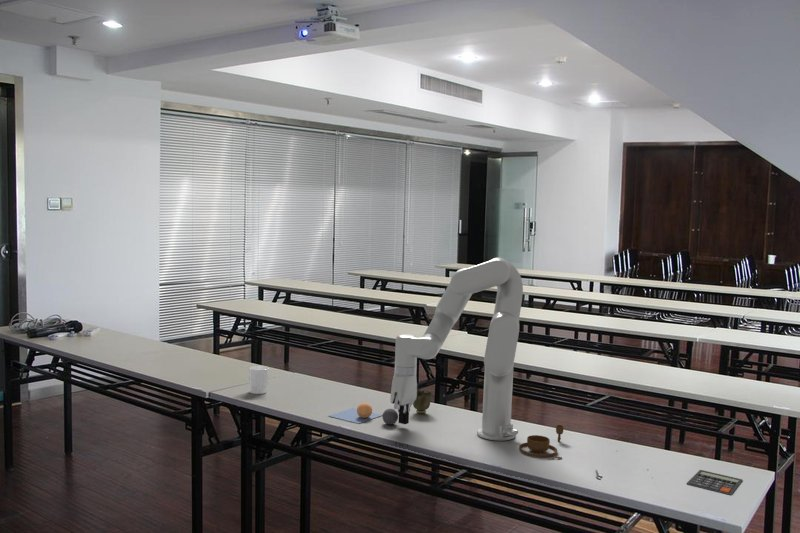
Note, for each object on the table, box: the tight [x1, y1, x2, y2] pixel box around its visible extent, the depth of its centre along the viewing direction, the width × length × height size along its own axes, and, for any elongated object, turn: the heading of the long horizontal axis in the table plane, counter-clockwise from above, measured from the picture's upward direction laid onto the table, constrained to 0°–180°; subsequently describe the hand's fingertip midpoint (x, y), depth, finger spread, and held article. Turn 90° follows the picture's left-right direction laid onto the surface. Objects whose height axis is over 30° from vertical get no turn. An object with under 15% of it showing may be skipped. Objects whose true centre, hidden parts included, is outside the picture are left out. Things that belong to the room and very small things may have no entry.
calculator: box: [686, 469, 743, 496], centre depth 197 cm, size 12×1×15 cm
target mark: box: [328, 407, 383, 425], centre depth 251 cm, size 14×14×1 cm
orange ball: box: [356, 402, 373, 418], centre depth 248 cm, size 6×6×6 cm
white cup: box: [248, 365, 270, 395], centre depth 280 cm, size 8×8×10 cm
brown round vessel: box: [412, 389, 433, 415], centre depth 257 cm, size 8×7×8 cm
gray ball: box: [381, 408, 399, 426], centre depth 242 cm, size 6×6×6 cm
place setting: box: [518, 424, 565, 461], centre depth 220 cm, size 18×20×6 cm
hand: (403, 423), depth 239 cm, fingers closed
